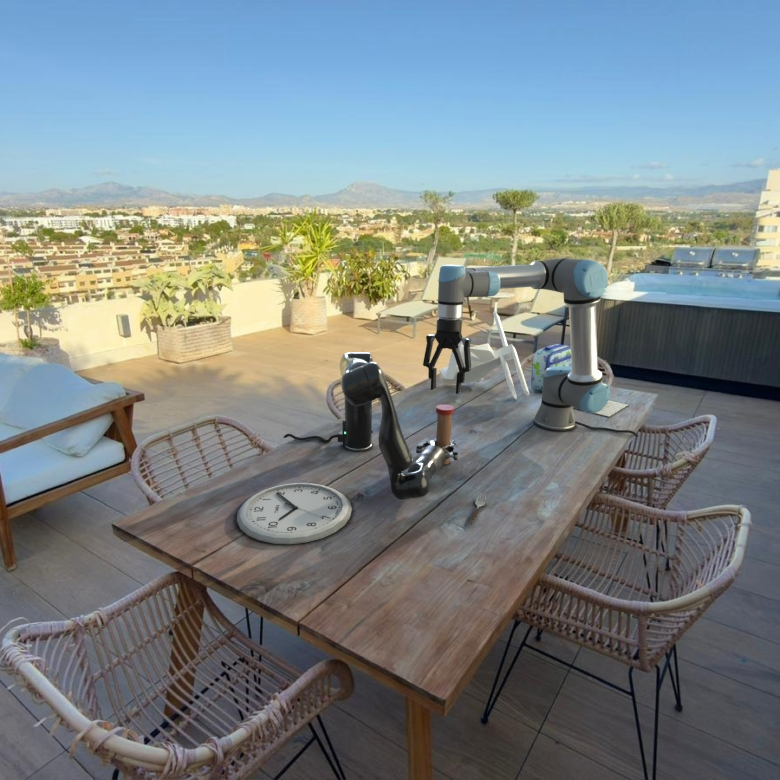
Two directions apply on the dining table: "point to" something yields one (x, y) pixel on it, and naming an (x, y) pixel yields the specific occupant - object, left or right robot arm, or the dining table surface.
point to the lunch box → (548, 362)
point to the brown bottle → (444, 431)
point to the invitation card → (611, 408)
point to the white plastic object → (486, 362)
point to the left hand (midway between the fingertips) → (445, 441)
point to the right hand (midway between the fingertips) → (445, 390)
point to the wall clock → (294, 513)
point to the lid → (444, 409)
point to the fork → (478, 503)
